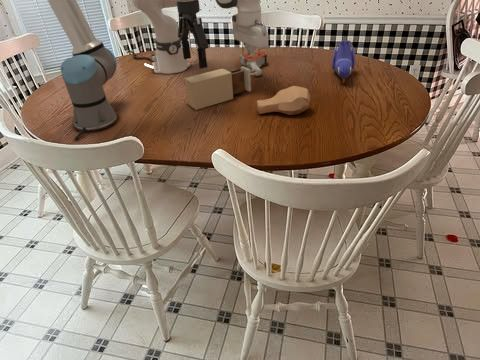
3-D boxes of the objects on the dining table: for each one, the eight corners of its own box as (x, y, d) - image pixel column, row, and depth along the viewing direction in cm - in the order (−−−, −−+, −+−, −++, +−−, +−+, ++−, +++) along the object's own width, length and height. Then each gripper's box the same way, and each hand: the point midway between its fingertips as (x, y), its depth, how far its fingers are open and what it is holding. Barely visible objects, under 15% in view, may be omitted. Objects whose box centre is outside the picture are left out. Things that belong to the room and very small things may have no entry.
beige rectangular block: (225, 93, 149) (223, 68, 143) (233, 98, 144) (231, 72, 138) (188, 104, 142) (184, 78, 136) (195, 110, 138) (192, 83, 131)
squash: (314, 116, 128) (313, 95, 122) (259, 125, 130) (256, 105, 124) (308, 99, 136) (307, 78, 129) (257, 108, 138) (253, 88, 131)
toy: (330, 77, 169) (331, 86, 146) (332, 39, 162) (333, 43, 140) (352, 76, 166) (356, 85, 144) (355, 38, 160) (360, 41, 137)
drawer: (255, 83, 154) (254, 62, 149) (262, 87, 150) (262, 66, 145) (211, 96, 145) (209, 74, 140) (217, 100, 142) (215, 78, 136)
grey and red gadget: (258, 80, 163) (278, 64, 175) (258, 69, 159) (279, 54, 172) (226, 73, 170) (248, 58, 183) (226, 62, 167) (248, 48, 179)
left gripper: (214, 3, 112) (220, 69, 124) (182, -6, 129) (190, 53, 142) (193, 6, 109) (201, 74, 121) (163, -4, 126) (172, 56, 139)
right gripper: (272, 21, 129) (272, 60, 137) (242, 13, 143) (244, 48, 151) (258, 24, 126) (258, 63, 134) (229, 15, 140) (231, 51, 149)
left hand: (195, 63), depth 132 cm, fingers open, 13 cm apart
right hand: (250, 55), depth 143 cm, fingers closed
